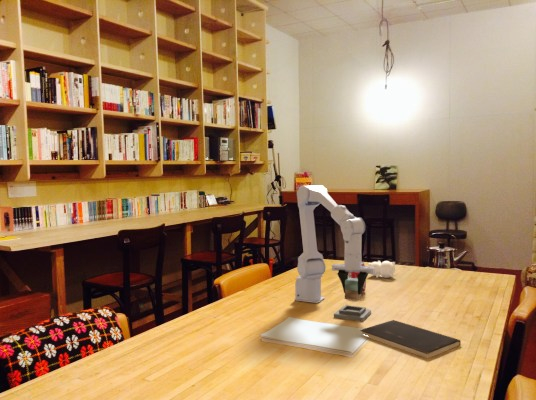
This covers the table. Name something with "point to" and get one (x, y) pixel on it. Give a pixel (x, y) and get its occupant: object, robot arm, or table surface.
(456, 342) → the hardcover book
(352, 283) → the block stack
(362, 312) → the socket board
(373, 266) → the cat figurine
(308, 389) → the table surface
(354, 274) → the soda can
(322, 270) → the robot arm
